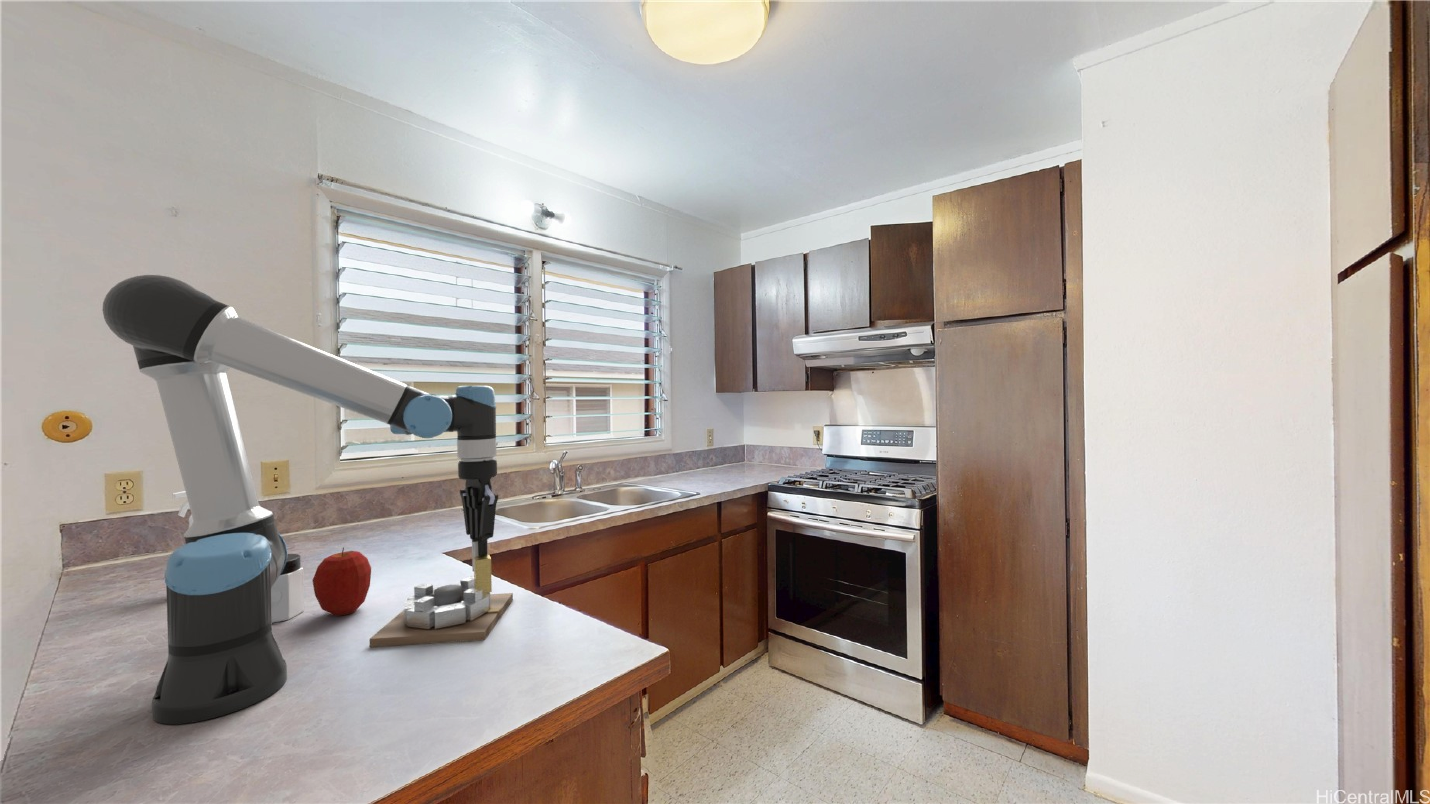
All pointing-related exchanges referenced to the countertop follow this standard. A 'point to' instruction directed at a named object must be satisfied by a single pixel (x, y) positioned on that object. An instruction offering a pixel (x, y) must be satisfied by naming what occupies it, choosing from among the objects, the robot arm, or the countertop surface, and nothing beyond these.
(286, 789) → the countertop surface
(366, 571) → the apple
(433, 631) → the board
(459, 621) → the white blocky ring
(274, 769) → the countertop surface
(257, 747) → the countertop surface
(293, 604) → the jar
